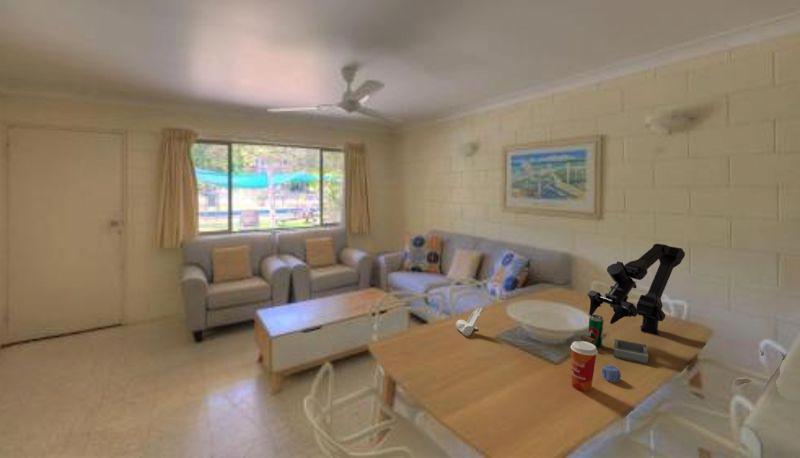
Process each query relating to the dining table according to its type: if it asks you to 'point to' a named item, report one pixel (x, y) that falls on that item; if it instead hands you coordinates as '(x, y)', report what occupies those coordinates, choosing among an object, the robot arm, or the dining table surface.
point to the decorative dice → (611, 373)
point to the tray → (630, 351)
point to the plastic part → (469, 322)
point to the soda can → (596, 329)
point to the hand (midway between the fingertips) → (600, 319)
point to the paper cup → (583, 364)
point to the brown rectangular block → (587, 339)
